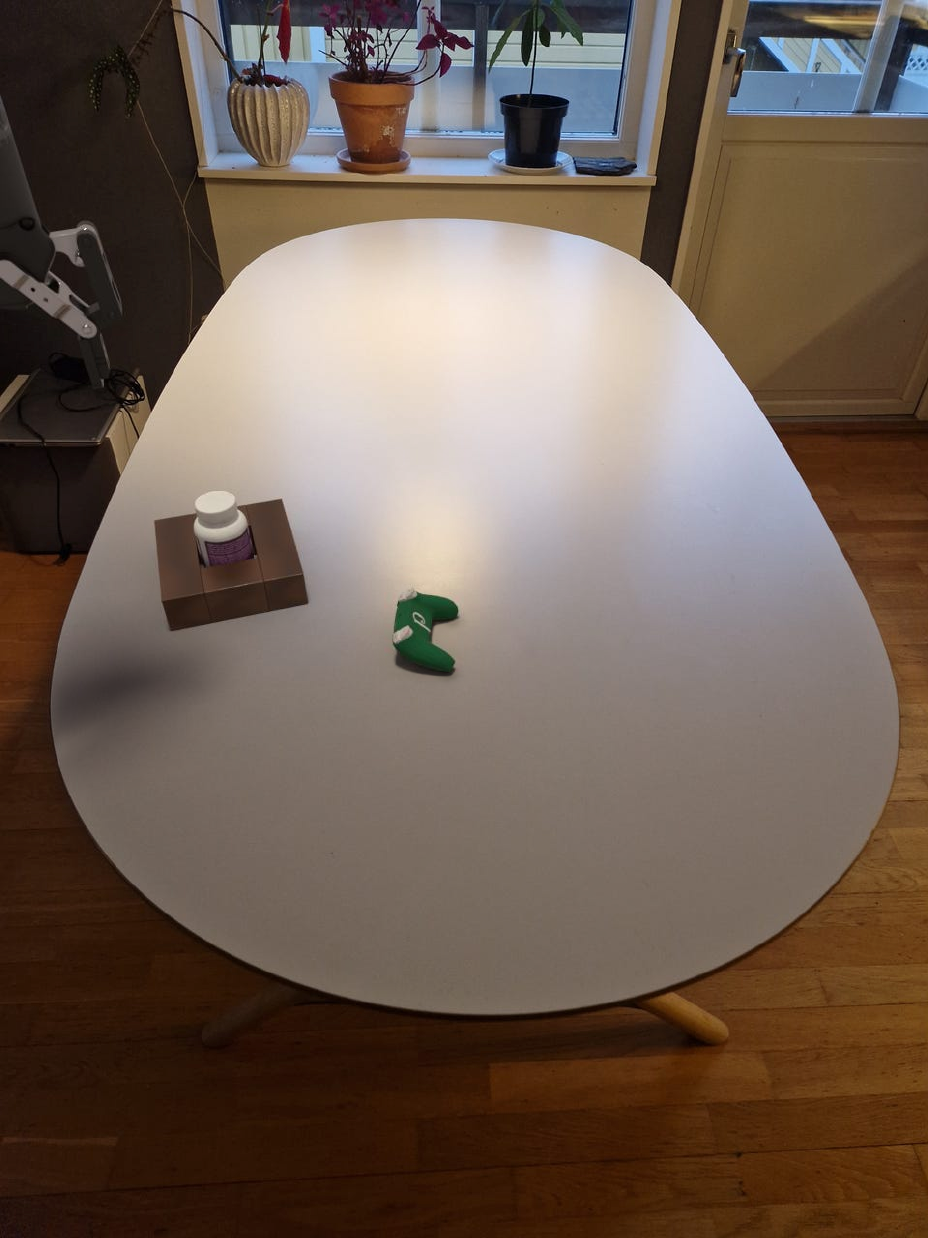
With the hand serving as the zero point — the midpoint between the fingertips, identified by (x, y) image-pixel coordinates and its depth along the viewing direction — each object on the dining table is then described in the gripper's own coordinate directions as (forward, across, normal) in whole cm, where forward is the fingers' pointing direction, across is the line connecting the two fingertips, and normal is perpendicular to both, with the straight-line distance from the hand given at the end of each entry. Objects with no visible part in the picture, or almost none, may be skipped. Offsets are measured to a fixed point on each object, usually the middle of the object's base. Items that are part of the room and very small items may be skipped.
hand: (33, 392), depth 60 cm
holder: (+30, -10, -14) cm, 35 cm away
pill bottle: (+30, -10, -14) cm, 35 cm away
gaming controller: (+30, -27, +2) cm, 41 cm away
